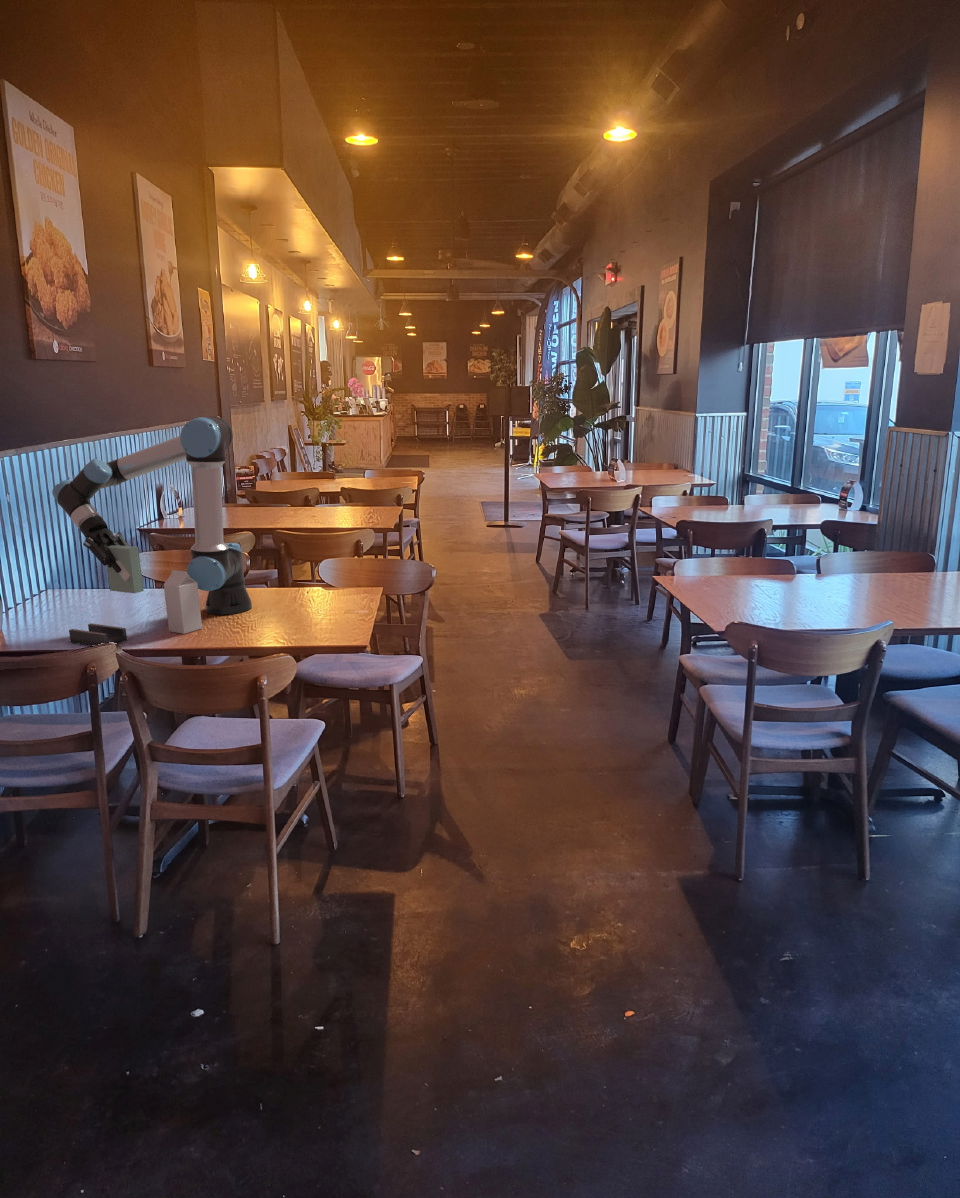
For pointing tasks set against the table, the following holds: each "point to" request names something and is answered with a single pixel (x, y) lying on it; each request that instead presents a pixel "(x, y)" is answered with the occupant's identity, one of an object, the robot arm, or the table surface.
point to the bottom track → (98, 635)
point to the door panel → (131, 564)
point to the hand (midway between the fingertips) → (133, 577)
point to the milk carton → (182, 603)
